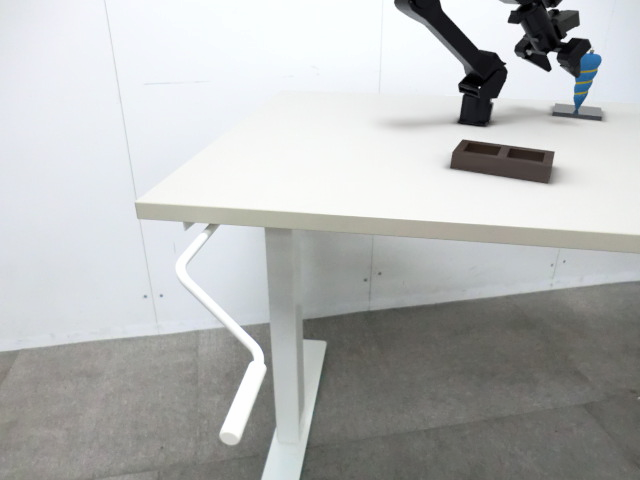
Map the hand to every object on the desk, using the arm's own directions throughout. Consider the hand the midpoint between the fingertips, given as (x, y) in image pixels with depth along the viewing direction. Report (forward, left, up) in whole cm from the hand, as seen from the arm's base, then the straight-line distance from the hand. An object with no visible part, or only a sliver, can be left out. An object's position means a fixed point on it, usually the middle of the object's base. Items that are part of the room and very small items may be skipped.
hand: (563, 73), depth 117 cm
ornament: (+5, +5, -9) cm, 12 cm away
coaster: (+5, +5, -10) cm, 12 cm away
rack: (-6, -48, -10) cm, 49 cm away
